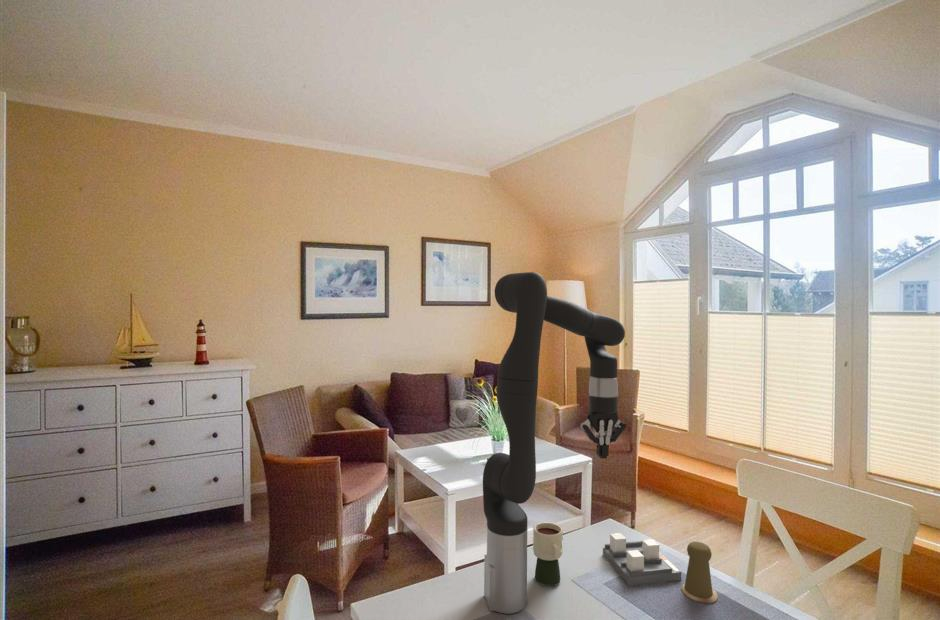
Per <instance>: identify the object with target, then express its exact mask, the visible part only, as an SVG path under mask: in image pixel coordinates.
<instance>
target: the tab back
mask: <svg viewBox="0 0 940 620" xmlns="http://www.w3.org/2000/svg"><path fill="white" fill-rule="evenodd" d="M626 542H627V538H626V537H625V536H624V535H623V534H622V533H621V532H619V533H616V532H615V533H610V534H609V544H610V549H611V550H612V551H613V553H614V552H625V551H626Z"/></svg>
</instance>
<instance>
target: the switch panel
mask: <svg viewBox="0 0 940 620" xmlns="http://www.w3.org/2000/svg"><path fill="white" fill-rule="evenodd" d="M631 550H638V551H639V552H640V553H641V554H642V540H639V541H638V540H637V541H636V540H635V541H626V551H625V552H614V553H613V551H612V550H611V549H610V543H605V544H604V547H602V556H603V557H604V559H605V560H606V561H607V562H608V563H609V564H610V566H611V567H612V568H614V570H615V571H616V572H617V574H619V576H620V575H621V576H622V577H621V576H620V577H621V578H622V579H623V580H624V582H626V583H627V585H628V586H638V585H647V584H656V583H667V582H675V581H682V571H681V570H680V569H679V568H677V566H676V565H674V564H673V563H672V562H671V561H670V560H669V559H668V558H667V557H665V556H664V555H663V554H662V553H661V552H660V551H659V558H655V559H646V558H645V557H644V570H639V571H630V570H629V569H628V568H627V567H626V562H627V551H631Z"/></svg>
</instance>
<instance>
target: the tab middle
mask: <svg viewBox="0 0 940 620" xmlns="http://www.w3.org/2000/svg"><path fill="white" fill-rule="evenodd" d="M641 541H642V555H643V556H644V557H645V558H646V559H655V558H659V552H660V544H659V543H658V542H657V541H655V540H654V539H653V538H649V539H642V540H641Z"/></svg>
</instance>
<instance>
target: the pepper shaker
mask: <svg viewBox="0 0 940 620" xmlns="http://www.w3.org/2000/svg"><path fill="white" fill-rule="evenodd" d="M686 552H687V555H688V557H689V558H688V563H687V571H686V577H685V581H684V583H685V590H686V591H687V592H688V593H689V594H691V595H693V596H695V597H698V598H710V597H712V595H713V591H712V588H713V586H712V585H713V584H712V576H711V569H710V561H711V559H712V550H711V548H710V547H709V545H708V544H705V543H703V542H701V541H691V542H689V544H687V547H686Z"/></svg>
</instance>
